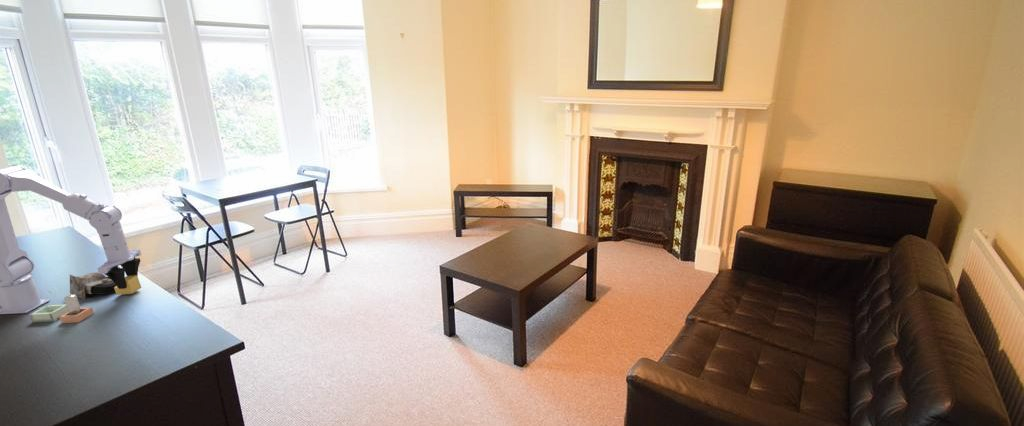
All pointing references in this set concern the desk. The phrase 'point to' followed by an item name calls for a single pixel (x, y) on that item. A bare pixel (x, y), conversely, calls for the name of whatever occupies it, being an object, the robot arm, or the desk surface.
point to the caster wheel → (91, 285)
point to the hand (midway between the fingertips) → (128, 284)
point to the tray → (49, 313)
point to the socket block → (76, 316)
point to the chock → (129, 285)
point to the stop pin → (73, 304)
